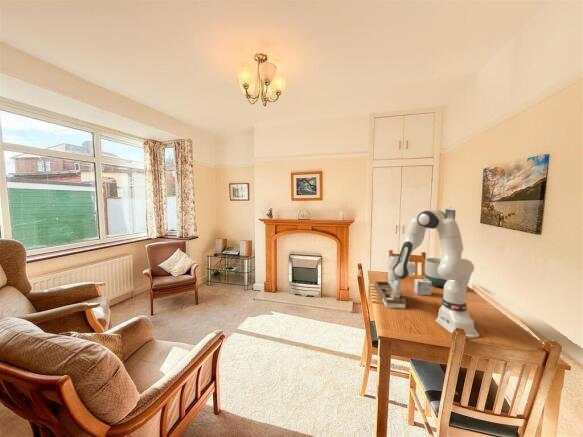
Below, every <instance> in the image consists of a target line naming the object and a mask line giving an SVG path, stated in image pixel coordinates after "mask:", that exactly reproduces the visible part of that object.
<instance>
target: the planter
mask: <svg viewBox="0 0 583 437" xmlns="http://www.w3.org/2000/svg"><path fill="white" fill-rule="evenodd" d="M440 261H441V258H439V257H437V258H436V257H428V258H425V259H424V278H425V279H428V280H429V281H431V282H432V286H434V287H438V288H439V287H440V288H441V287H442V288H444V285H445V283H446V282H447V280H445V279H443V278H441V277H440V276H439V274H438V271H437V269H438V266H439V265H440Z"/></svg>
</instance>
